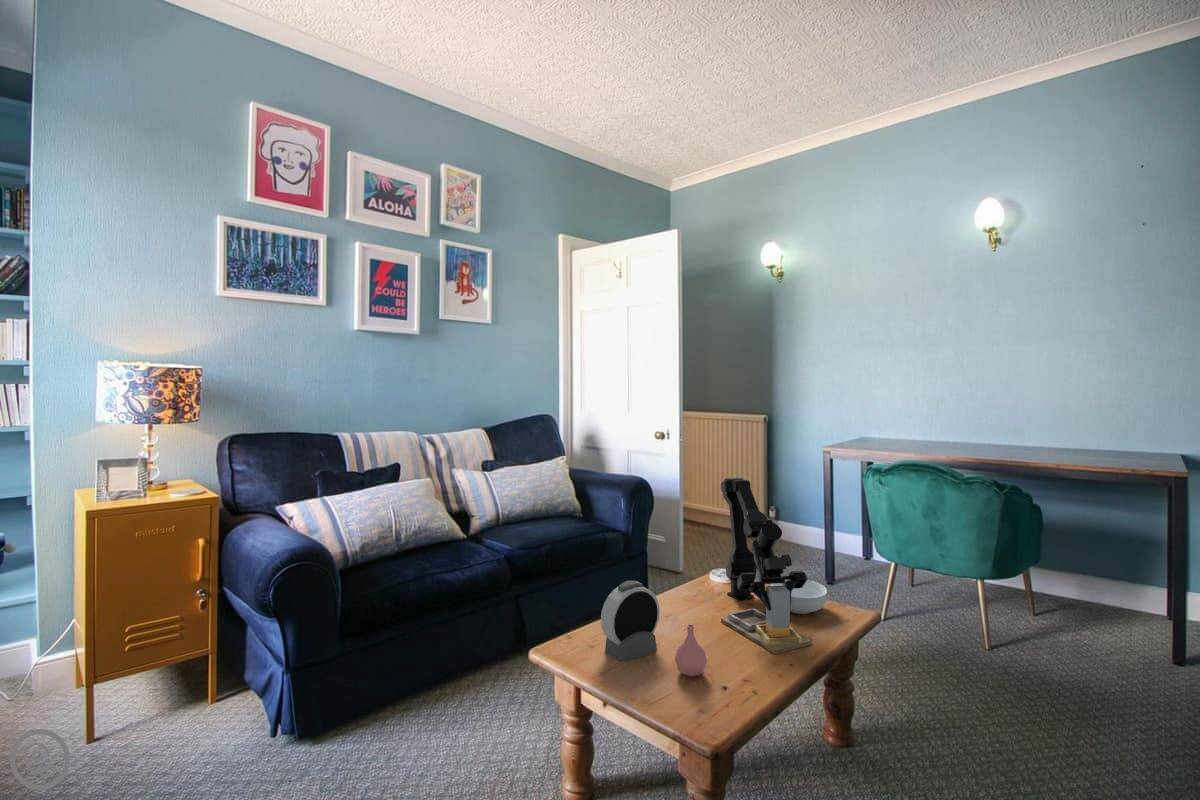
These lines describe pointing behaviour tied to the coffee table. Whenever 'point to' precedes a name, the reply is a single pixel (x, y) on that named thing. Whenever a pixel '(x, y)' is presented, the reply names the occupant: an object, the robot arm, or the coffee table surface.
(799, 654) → the coffee table surface
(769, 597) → the grey square pillar
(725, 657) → the coffee table surface
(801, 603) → the cereal bowl
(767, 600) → the robot arm
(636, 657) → the alarm clock
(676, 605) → the coffee table surface
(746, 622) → the station board
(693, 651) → the pink vase
